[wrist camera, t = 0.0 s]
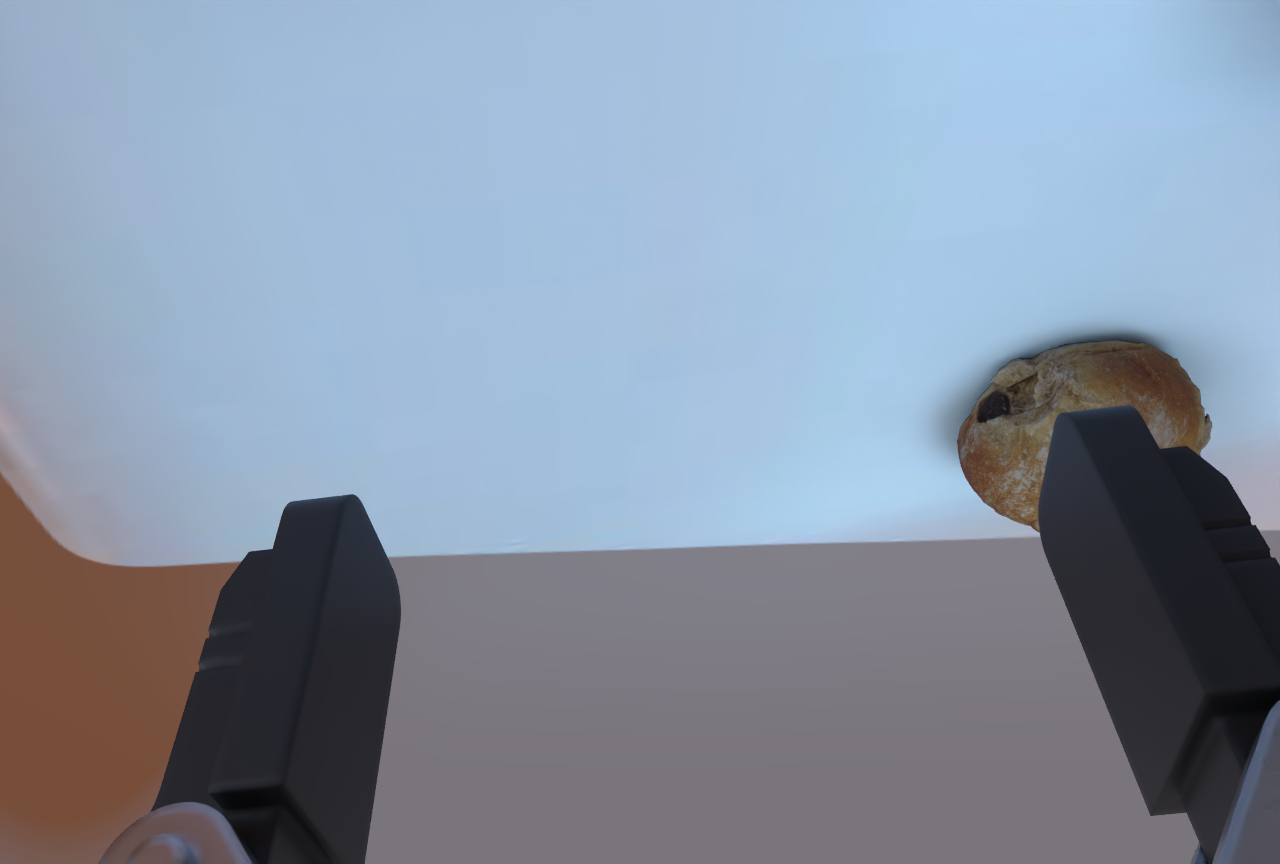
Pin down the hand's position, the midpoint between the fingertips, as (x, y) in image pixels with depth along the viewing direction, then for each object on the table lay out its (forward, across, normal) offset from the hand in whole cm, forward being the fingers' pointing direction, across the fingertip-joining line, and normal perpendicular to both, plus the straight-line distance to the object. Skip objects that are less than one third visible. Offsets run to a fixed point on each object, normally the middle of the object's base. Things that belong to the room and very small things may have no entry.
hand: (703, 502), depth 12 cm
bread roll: (+26, -17, +26) cm, 40 cm away
